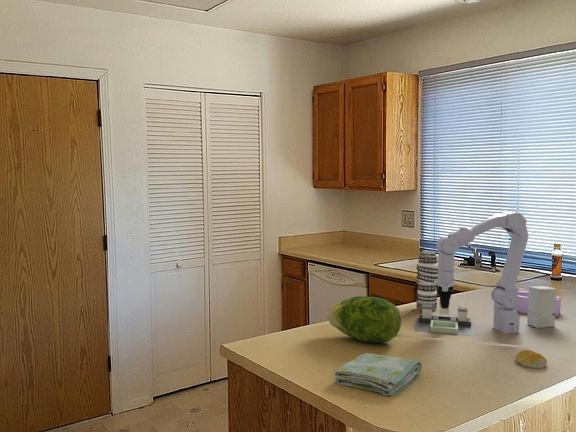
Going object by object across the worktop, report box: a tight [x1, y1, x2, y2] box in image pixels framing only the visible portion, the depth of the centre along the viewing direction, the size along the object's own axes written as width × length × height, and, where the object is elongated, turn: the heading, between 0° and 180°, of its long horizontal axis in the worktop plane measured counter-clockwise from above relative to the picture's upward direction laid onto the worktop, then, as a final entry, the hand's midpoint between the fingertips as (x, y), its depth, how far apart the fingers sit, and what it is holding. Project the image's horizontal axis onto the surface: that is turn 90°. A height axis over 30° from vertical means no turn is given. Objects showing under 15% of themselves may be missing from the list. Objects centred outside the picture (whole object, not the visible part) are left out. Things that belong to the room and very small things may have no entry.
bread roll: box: [514, 349, 548, 369], centre depth 169 cm, size 8×9×4 cm
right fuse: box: [457, 306, 468, 321], centre depth 209 cm, size 3×3×6 cm
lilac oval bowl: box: [515, 290, 562, 317], centre depth 233 cm, size 20×12×7 cm, turn 54°
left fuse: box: [421, 304, 433, 319], centre depth 212 cm, size 3×3×6 cm
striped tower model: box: [415, 250, 438, 312], centre depth 232 cm, size 9×9×25 cm
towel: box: [333, 352, 423, 397], centre depth 155 cm, size 18×21×5 cm
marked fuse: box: [438, 300, 451, 316], centre depth 202 cm, size 4×4×6 cm
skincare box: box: [526, 285, 557, 329], centre depth 210 cm, size 8×6×15 cm
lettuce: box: [326, 295, 402, 344], centre depth 191 cm, size 15×27×16 cm, turn 60°
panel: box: [413, 314, 476, 337], centre depth 206 cm, size 19×21×3 cm
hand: (444, 306), depth 202 cm, fingers closed on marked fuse, 3 cm apart
